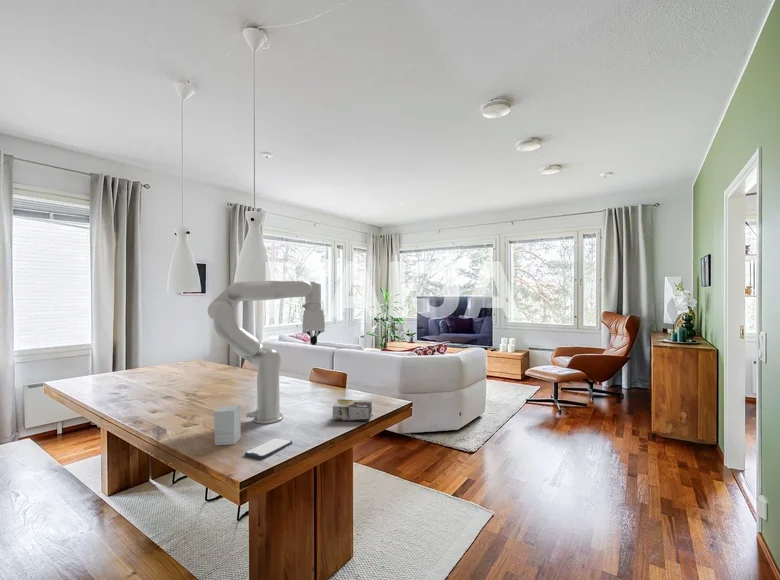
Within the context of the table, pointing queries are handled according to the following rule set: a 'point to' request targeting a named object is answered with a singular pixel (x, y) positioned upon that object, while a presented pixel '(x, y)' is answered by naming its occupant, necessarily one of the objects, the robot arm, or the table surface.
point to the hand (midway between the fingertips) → (313, 344)
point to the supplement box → (227, 425)
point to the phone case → (268, 448)
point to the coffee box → (352, 410)
